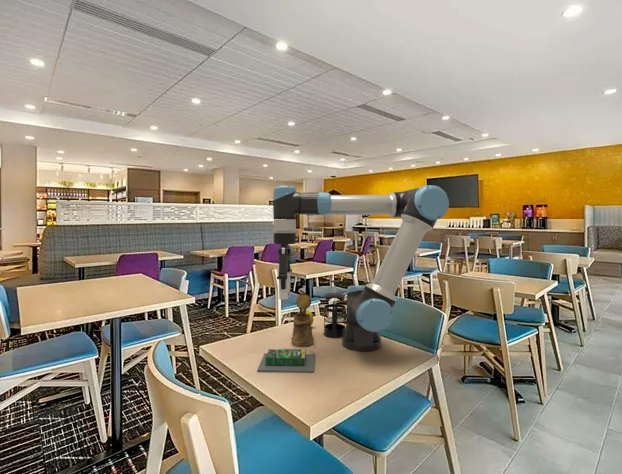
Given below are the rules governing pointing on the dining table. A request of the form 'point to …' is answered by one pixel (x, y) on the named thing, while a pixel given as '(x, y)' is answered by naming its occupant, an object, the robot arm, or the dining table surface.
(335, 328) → the french press
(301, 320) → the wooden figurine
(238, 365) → the dining table surface
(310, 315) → the lemon
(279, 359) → the coffee box
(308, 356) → the mat
